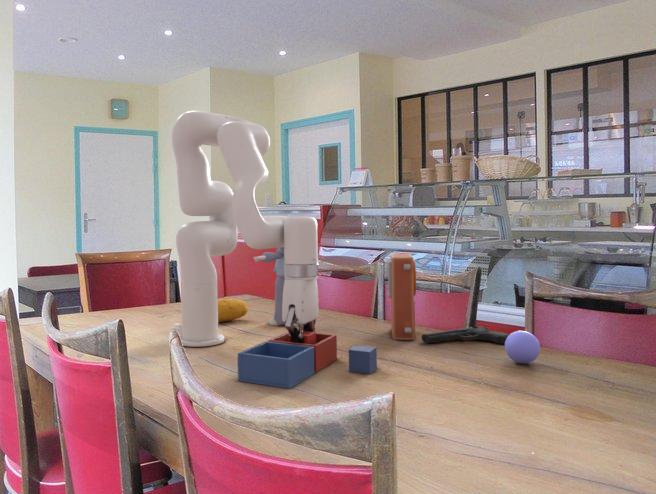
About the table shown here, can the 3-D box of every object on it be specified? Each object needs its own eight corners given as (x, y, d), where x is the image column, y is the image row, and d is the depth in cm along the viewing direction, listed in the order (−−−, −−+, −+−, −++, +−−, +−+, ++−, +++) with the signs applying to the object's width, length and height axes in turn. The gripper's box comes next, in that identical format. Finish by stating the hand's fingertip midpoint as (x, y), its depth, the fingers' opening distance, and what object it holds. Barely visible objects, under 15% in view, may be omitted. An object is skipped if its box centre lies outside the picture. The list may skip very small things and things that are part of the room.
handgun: (453, 355, 136) (419, 342, 147) (515, 344, 143) (478, 333, 154) (453, 343, 135) (419, 331, 146) (515, 333, 143) (478, 322, 154)
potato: (202, 320, 181) (202, 299, 181) (244, 317, 185) (244, 296, 185) (208, 325, 174) (208, 302, 173) (252, 321, 178) (251, 299, 178)
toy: (299, 314, 188) (297, 222, 188) (320, 316, 184) (319, 222, 183) (244, 330, 164) (242, 225, 164) (267, 334, 159) (265, 225, 159)
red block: (289, 354, 128) (288, 334, 128) (298, 350, 132) (297, 330, 132) (307, 357, 126) (307, 336, 126) (316, 352, 130) (316, 332, 130)
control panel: (413, 329, 162) (417, 341, 147) (388, 328, 163) (389, 340, 148) (412, 253, 161) (416, 257, 147) (387, 253, 163) (388, 257, 148)
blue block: (348, 371, 121) (348, 349, 121) (356, 366, 125) (356, 345, 125) (370, 374, 119) (369, 352, 119) (377, 368, 123) (376, 347, 123)
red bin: (267, 365, 127) (267, 340, 127) (291, 353, 137) (290, 330, 137) (316, 372, 121) (315, 345, 121) (337, 359, 131) (336, 334, 131)
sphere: (505, 366, 123) (505, 333, 123) (503, 358, 129) (503, 327, 129) (542, 368, 120) (541, 335, 120) (538, 360, 127) (538, 328, 127)
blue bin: (238, 380, 116) (237, 353, 116) (265, 366, 126) (265, 341, 126) (289, 388, 110) (289, 359, 110) (314, 373, 120) (314, 346, 120)
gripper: (302, 267, 138) (303, 343, 138) (268, 275, 123) (269, 360, 124) (331, 268, 134) (332, 346, 134) (300, 276, 119) (301, 364, 120)
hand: (302, 352), depth 129 cm, fingers closed on red block, 4 cm apart
